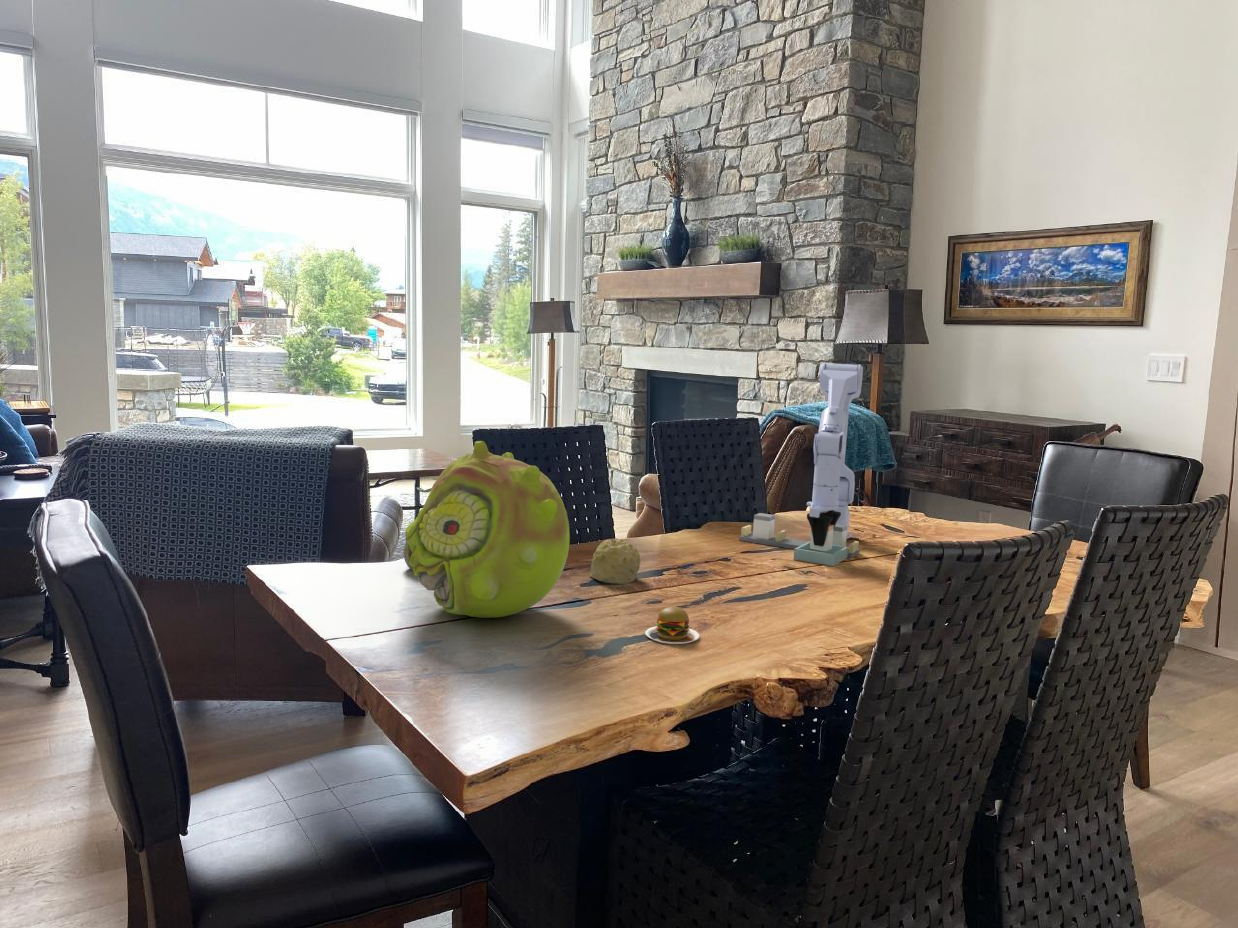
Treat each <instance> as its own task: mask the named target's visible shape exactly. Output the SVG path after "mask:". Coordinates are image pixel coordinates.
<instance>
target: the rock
mask: <svg viewBox="0 0 1238 928" xmlns="http://www.w3.org/2000/svg"><path fill="white" fill-rule="evenodd" d="M640 565H641V554H640V553H639V550H638V548H636V546H634V544H632V543H630V542H629V541H627V540H625V539H620V538H608V539H604V540H603V541H602V542H600V544H599V545H598V546H597V547H596V550H595V551H594V552H593V555H592V559H591V567H590V573H589V575H590V576H589V577H590V578H591V579H594V580H596V581H599V582H602V583H605V584H613V585H627V584H630V583H632V582H634V581H635V580H636V579H637V578H638V577H637V576H638V575H637V573H638V572H639V570H640V567H641V566H640Z"/></svg>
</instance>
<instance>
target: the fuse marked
mask: <svg viewBox="0 0 1238 928" xmlns="http://www.w3.org/2000/svg"><path fill="white" fill-rule="evenodd" d="M833 528H834V525H831V524H830V525H829V528H828V531H827V535H826V540H825V544H824V546H816V545H814V542H813V535H812V530H811V529H810V536H811V538H809V539H810V549H815V550H822V551H828V550H830V549H832V541H833Z"/></svg>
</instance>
